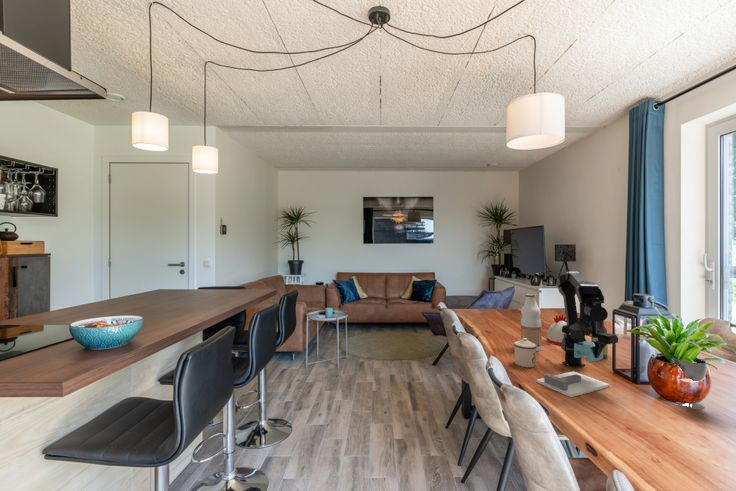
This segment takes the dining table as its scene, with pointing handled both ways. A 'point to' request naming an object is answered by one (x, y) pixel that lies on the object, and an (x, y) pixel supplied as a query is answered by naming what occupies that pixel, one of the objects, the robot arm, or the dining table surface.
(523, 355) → the teacup with lid
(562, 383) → the rail base plate
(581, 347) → the slotted lock block
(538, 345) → the fruit juice
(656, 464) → the dining table surface
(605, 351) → the sauce bottle
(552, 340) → the kitchen timer
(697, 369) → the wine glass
